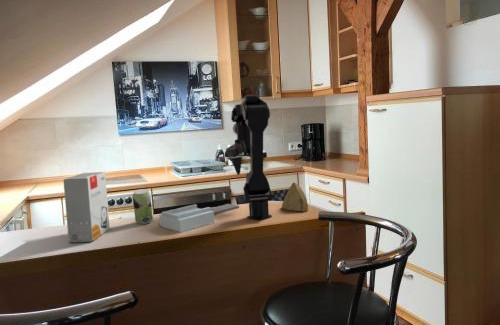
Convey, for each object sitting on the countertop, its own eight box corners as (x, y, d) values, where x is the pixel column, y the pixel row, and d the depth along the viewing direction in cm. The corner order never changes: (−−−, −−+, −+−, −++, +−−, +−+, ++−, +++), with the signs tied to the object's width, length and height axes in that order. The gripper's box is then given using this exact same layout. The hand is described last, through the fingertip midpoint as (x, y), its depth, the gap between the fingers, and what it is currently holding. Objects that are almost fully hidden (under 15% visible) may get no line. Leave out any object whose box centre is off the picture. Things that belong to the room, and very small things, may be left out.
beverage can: (152, 219, 152) (150, 187, 151) (153, 224, 145) (150, 190, 144) (135, 221, 151) (132, 188, 149) (134, 226, 144) (131, 192, 142)
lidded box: (214, 222, 143) (213, 208, 143) (180, 232, 134) (179, 216, 133) (193, 217, 152) (192, 203, 151) (160, 226, 142) (159, 211, 142)
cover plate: (239, 209, 164) (239, 205, 164) (207, 218, 152) (207, 214, 152) (228, 207, 168) (228, 203, 168) (197, 215, 157) (197, 211, 157)
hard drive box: (92, 242, 128) (86, 178, 125) (68, 243, 128) (61, 179, 125) (110, 228, 143) (105, 171, 141) (88, 229, 143) (82, 172, 141)
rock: (316, 205, 152) (307, 196, 161) (302, 188, 149) (294, 180, 159) (293, 224, 152) (286, 214, 162) (279, 207, 150) (273, 198, 159)
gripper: (213, 137, 166) (215, 176, 168) (246, 138, 153) (248, 180, 155) (234, 135, 174) (236, 172, 176) (266, 136, 161) (268, 176, 162)
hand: (246, 175), depth 167 cm, fingers open, 9 cm apart
